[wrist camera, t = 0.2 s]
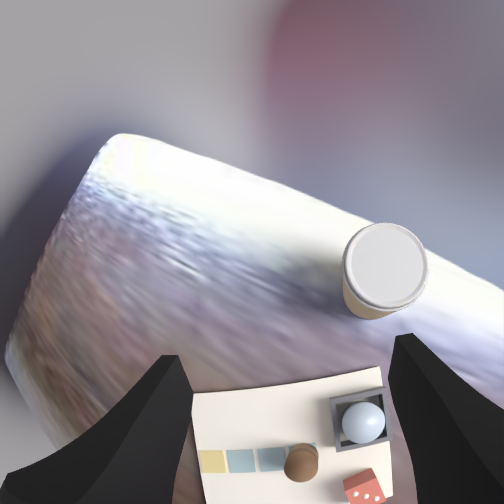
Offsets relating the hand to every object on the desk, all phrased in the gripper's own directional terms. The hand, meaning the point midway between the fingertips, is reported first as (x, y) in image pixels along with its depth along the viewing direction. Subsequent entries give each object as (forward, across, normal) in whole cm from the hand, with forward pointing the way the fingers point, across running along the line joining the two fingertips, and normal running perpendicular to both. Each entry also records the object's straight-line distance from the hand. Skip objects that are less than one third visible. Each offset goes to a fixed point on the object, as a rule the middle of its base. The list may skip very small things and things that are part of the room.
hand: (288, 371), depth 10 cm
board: (+13, +1, +30) cm, 33 cm away
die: (+8, -8, +33) cm, 35 cm away
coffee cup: (+28, -11, +16) cm, 33 cm away
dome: (+14, -7, +25) cm, 29 cm away
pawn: (+12, 0, +29) cm, 32 cm away
